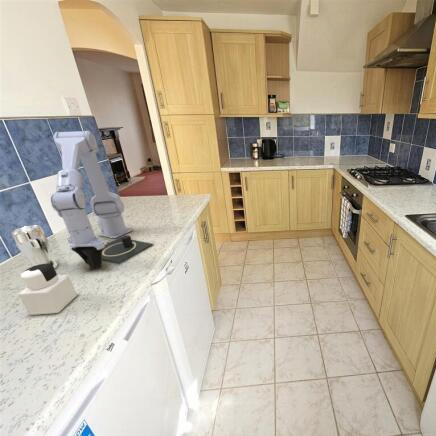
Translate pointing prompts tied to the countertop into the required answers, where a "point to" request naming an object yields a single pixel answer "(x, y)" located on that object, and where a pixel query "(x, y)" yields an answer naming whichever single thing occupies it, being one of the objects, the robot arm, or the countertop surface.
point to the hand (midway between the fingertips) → (94, 263)
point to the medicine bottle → (46, 290)
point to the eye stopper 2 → (127, 241)
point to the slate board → (122, 250)
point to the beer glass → (33, 245)
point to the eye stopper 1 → (92, 265)
